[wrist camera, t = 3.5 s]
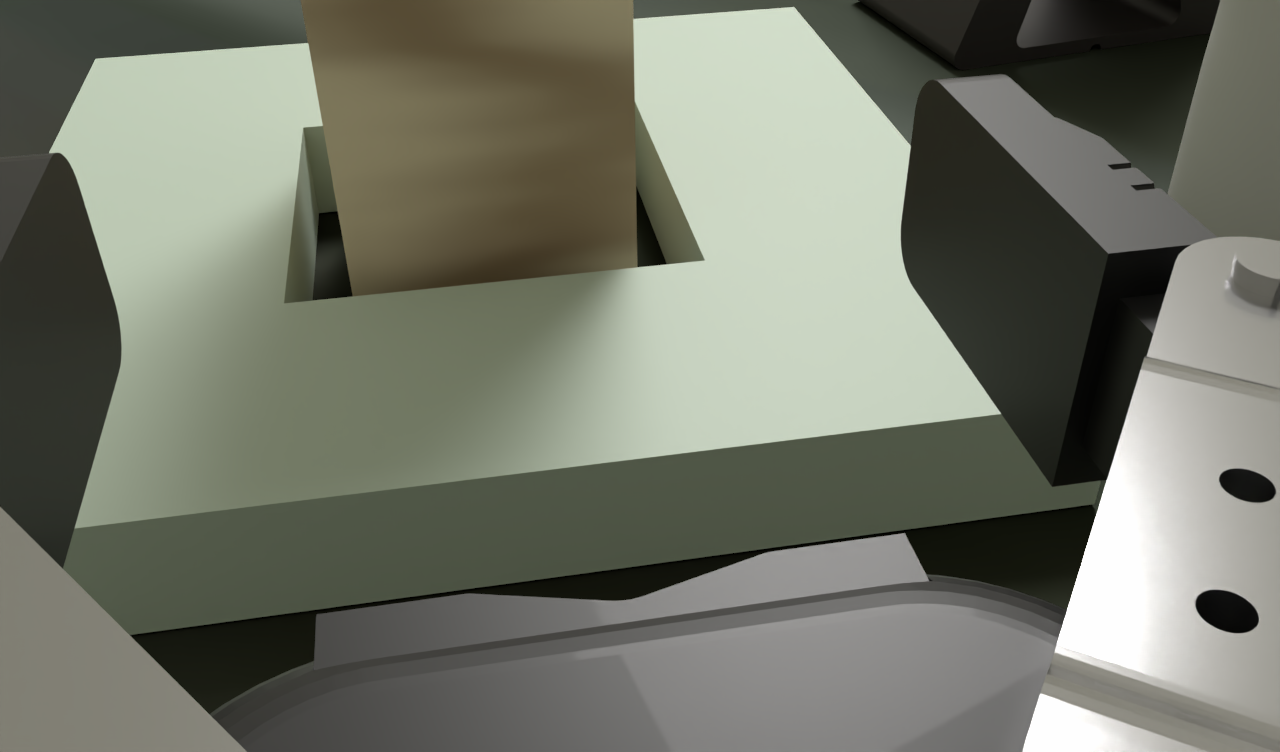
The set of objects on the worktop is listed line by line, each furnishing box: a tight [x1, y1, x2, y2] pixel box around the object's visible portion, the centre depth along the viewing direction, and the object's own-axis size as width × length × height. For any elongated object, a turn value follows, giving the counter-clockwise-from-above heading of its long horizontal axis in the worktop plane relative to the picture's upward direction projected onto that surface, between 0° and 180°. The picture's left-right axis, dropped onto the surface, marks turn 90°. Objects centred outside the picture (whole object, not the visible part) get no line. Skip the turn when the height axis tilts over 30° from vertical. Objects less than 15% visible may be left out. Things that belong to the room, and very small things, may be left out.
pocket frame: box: [49, 7, 1101, 635], centre depth 24 cm, size 17×17×2 cm
